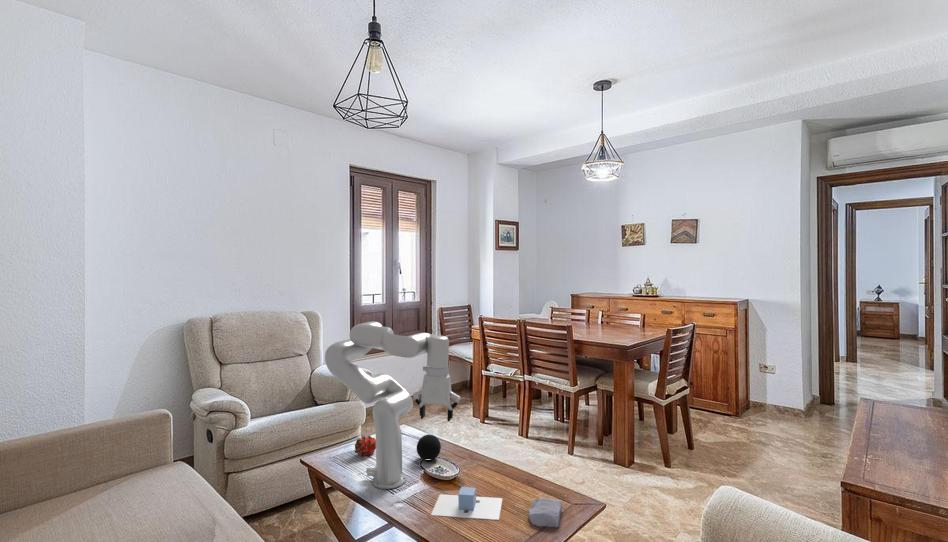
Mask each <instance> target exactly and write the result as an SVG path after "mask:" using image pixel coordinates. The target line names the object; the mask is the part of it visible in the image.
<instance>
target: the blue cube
mask: <svg viewBox="0 0 948 542" xmlns="http://www.w3.org/2000/svg"><path fill="white" fill-rule="evenodd" d="M457 495H458V502H459V510H472V511H474V508H475V504H476V497H477V488H476V487H471V486H470V487H467V486H461V487H460V489H459V492H458V494H457Z"/></svg>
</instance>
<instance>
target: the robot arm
mask: <svg viewBox="0 0 948 542" xmlns="http://www.w3.org/2000/svg"><path fill="white" fill-rule="evenodd" d="M348 336H349V339H343V340H339V341H336V342H334V343H332V344H331V345H329V346H328V347H327V349H326V350H325V353H324V361H325V365H326V367H327V370H328V371H329V373H331V375H332V376H334V377H335V378H336V379H337V380H338V381H340V382H341V384H343V385H345V387H346V388H347V389H348V390H349V391H350V392H352V393H353V395H355V397H357V398H358V399H359V401H361V402H362V403H363V404H368V405H369V404H373V403H374V404H373V407H372V418H373V422H374V429H375V431H374V432H375V440H376V449H375V462H376V465H375V466H376V467H375V468H373V467H367V468H366V470H365V472H366V476H367V477H373V478H372V481H371V484H372V486H373V487H374V488H375V487H376V488H378V489H382V490H389V489H395V488H399V487H401V486H402V485H404V484H405V483H406V482H407V481H408V480H407V479H408V478H407V477H408V476H407V474H406V473H405V472H403V446H402V445H403V442H402V441H403V439H402V436H403V435H402V429H401V426H400V424H399V419H401V418H402V417H404V416H406V415H407V414H409V413H410V412H411V411H412V409H413V406H414V402H415V403H416V405H418V408H419V416H420V419H421V420H423V419H424V418H425V417H426V405H433V406H434V405H435V406H446V407H447V408H448V409H447V420H446V421H447V422H450V421H451V420H452V419H453V418H454V412H453V411H454V409H455V408H456V407H457V406H458V404H459V403H460V402H461V401H460V400H461V399H462V397H461V396H460V395H458V394H457V393H455V392H454V391H452V383H451V381H452V380H451V376H450V374H449V355H450V353H449V352H450V351H449V350H450V349H449V348H450V341H449V340H450V339H449V338H448V337H447V336H445V335H439V334H438V335H437V334H436V335H435V334H431V333H428V332H419V333H414V334H411V335H408V336H407V335H399V334H394V331H393V329H392V328H391V327H388V326H383V325H382V324H381V323H380V322H378V321H375V320H374V321H373V320H372V321H366V322H362V323H358V324H356V325H354V326H353V327H352V328H351V329H350V331H349V334H348ZM372 349H375V350H382V351H384V352H385V353H387V354H388V355H391V356H395V357H399V358H406V359H407V358H409V359H410V358H411V359H413V358H416V357H419V356H420V355H424V354H425V355H427V356H426V366H422V371H425V374H423V379H422V385H421V389H419V390H417V391H416V392H414V393H412V396H411V394H410V393H409V392H408V391H407V390H406V389H405V388H404V387H403V386H401V384H399V383H398V382H397V381H396V380H395V379H394V378H393V377H391V375H388V374H386V373H377V374H374V375H369V374H368V373H367V372H365V370H363V369H362V368H361V367H360V366H358V365H356V364H354V363H352V362H351V361H355V360H358V359H360V358H362V357H364V356H365V355H366V354H368V353H369V352H370V351H371V350H372ZM419 396H420V398H419ZM412 397H413V398H412ZM452 398H453V399H454V400H455V401H454V402H452ZM413 400H414V401H413ZM425 404H426V405H425Z"/></svg>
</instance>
